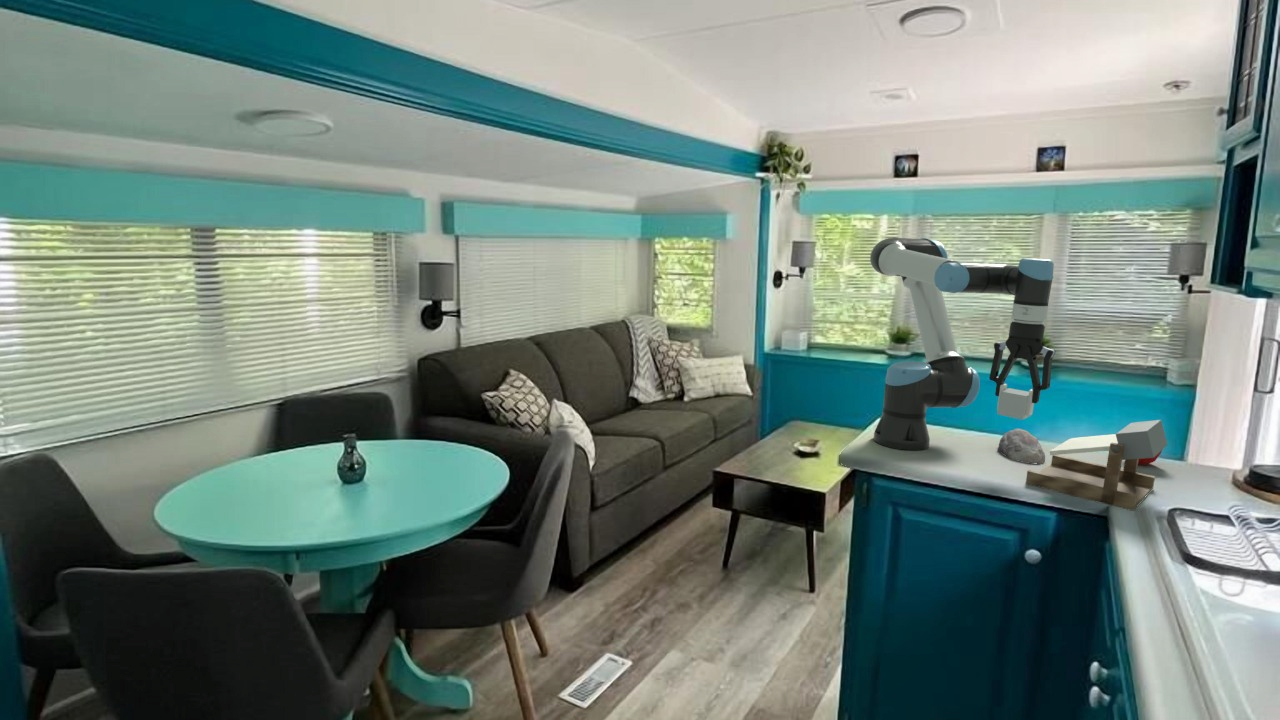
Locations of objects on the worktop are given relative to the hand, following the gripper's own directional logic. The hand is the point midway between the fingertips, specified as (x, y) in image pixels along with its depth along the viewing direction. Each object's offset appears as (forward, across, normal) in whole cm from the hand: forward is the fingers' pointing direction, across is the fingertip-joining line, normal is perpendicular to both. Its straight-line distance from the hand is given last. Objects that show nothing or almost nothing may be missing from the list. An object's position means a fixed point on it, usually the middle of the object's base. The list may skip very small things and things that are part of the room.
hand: (1014, 411), depth 175 cm
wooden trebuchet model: (+16, +18, +5) cm, 24 cm away
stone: (+17, -2, +20) cm, 26 cm away
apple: (+16, +22, +39) cm, 47 cm away
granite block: (+1, 0, 0) cm, 1 cm away
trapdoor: (+7, +21, +5) cm, 22 cm away
